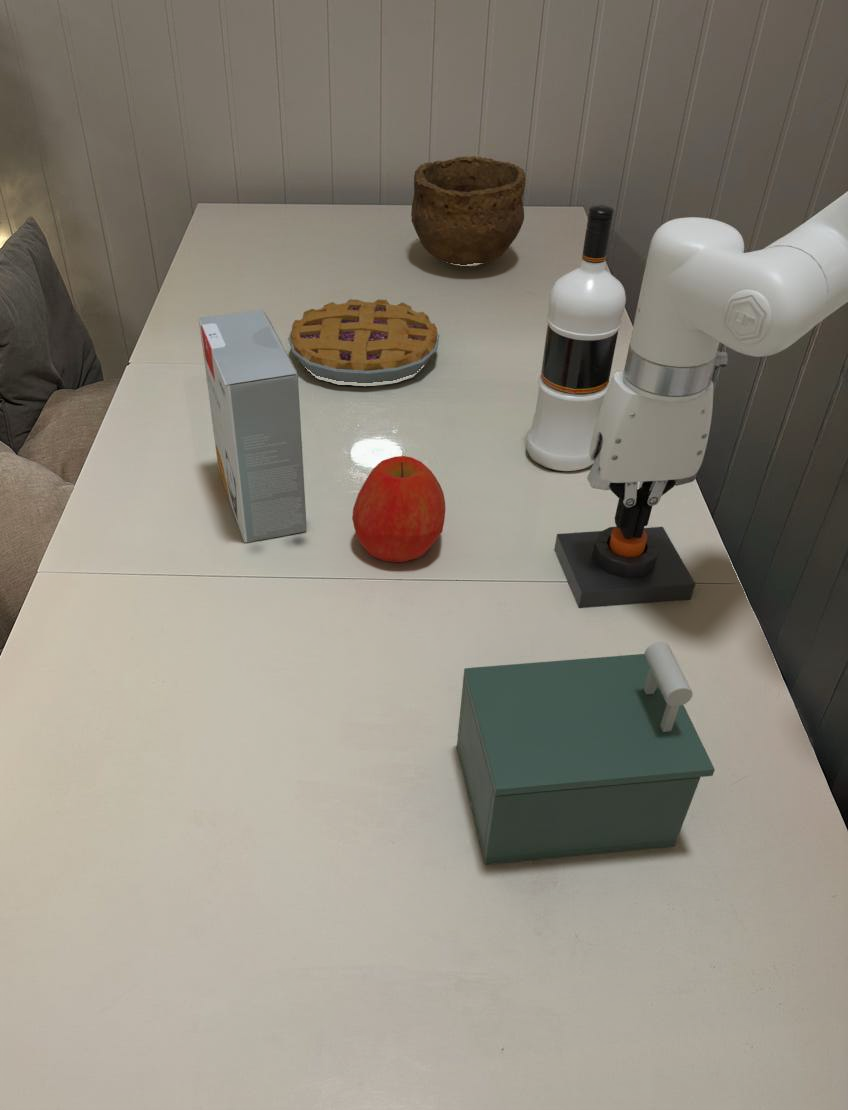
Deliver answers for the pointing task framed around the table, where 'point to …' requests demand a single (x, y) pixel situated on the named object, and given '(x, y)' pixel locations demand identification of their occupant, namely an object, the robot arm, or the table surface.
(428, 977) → the table surface
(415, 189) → the bowl
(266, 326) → the hard drive box
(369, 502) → the apple
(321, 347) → the pie
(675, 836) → the hinged box
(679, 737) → the box lid
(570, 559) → the control block
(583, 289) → the vodka
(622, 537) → the release button
